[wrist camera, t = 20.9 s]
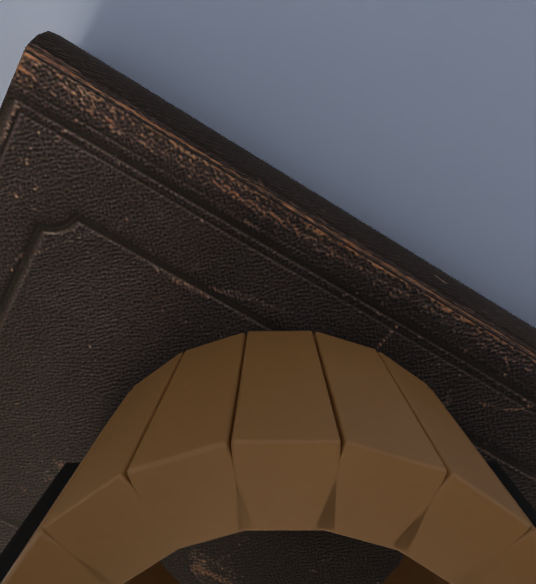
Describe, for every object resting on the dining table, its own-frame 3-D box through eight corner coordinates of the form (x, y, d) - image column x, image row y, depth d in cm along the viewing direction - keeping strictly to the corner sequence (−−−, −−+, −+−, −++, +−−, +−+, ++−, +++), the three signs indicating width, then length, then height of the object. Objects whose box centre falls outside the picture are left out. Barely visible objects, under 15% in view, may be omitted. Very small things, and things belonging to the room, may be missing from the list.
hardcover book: (415, 715, 19) (433, 786, 17) (-111, 468, 17) (-170, 514, 14) (687, 422, 16) (755, 463, 14) (75, 45, 13) (34, 19, 11)
